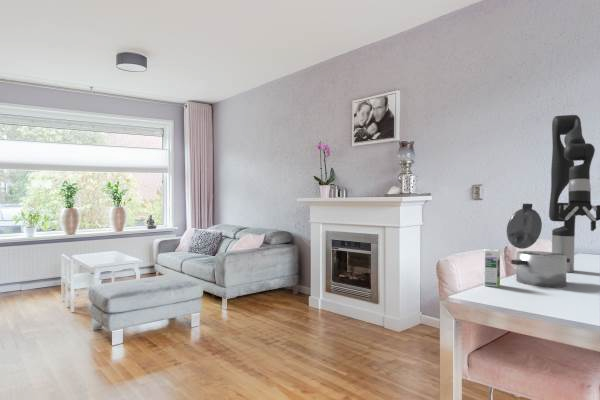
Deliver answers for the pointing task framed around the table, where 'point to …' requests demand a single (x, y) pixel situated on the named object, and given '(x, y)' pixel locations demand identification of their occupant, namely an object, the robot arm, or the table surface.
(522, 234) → the lid
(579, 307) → the table surface
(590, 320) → the table surface
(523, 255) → the pot
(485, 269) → the syrup box
